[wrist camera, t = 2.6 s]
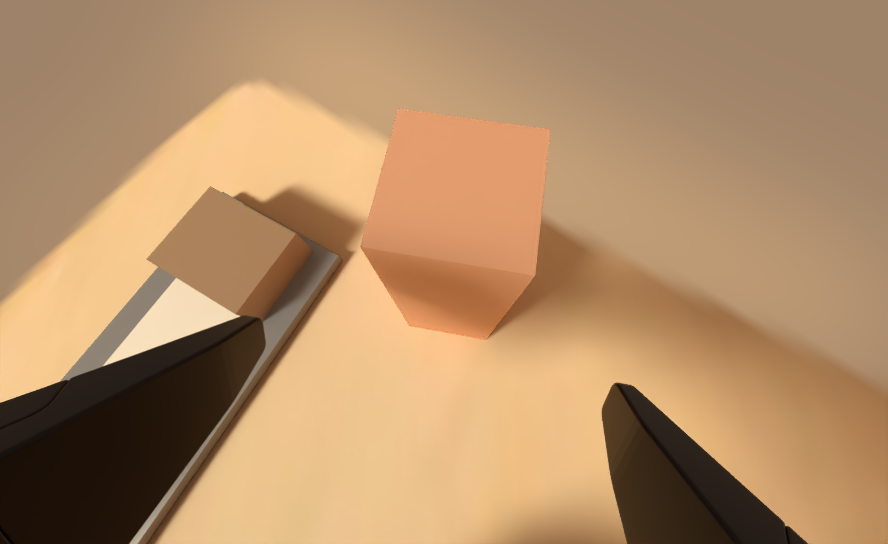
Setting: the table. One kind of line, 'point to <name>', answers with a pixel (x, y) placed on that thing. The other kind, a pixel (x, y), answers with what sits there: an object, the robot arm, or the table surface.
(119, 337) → the rail
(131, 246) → the table surface
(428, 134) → the wooden post
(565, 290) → the table surface
